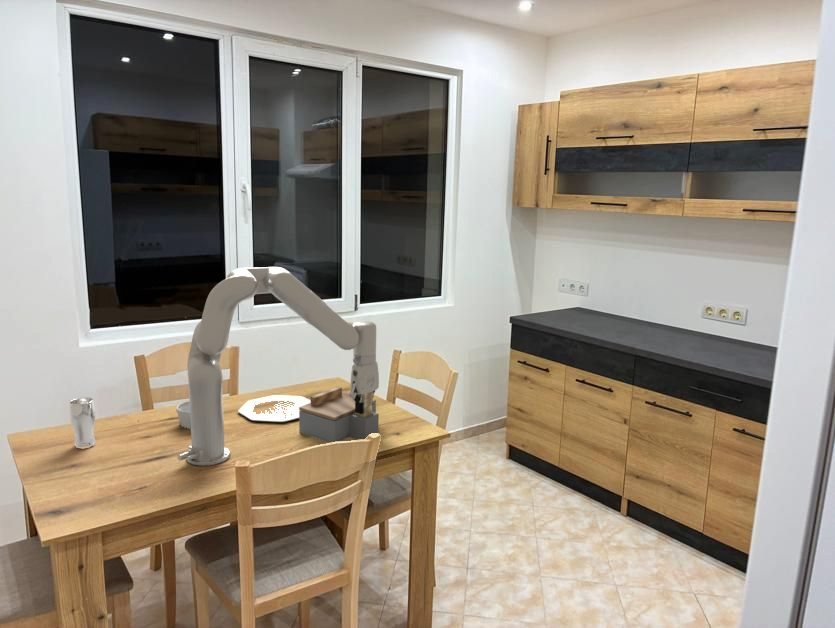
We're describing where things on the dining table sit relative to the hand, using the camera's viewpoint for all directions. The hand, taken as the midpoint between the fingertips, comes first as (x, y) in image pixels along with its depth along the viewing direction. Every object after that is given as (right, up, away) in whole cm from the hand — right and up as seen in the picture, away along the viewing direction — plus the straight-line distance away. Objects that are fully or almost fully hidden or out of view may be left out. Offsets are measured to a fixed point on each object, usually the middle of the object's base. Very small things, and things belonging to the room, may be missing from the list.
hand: (363, 410), depth 205 cm
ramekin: (-60, -6, +9) cm, 61 cm away
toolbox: (-7, -8, +6) cm, 12 cm away
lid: (-9, 0, +7) cm, 11 cm away
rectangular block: (0, -5, +1) cm, 5 cm away
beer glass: (-88, -10, -11) cm, 89 cm away
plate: (-35, -4, +25) cm, 43 cm away
